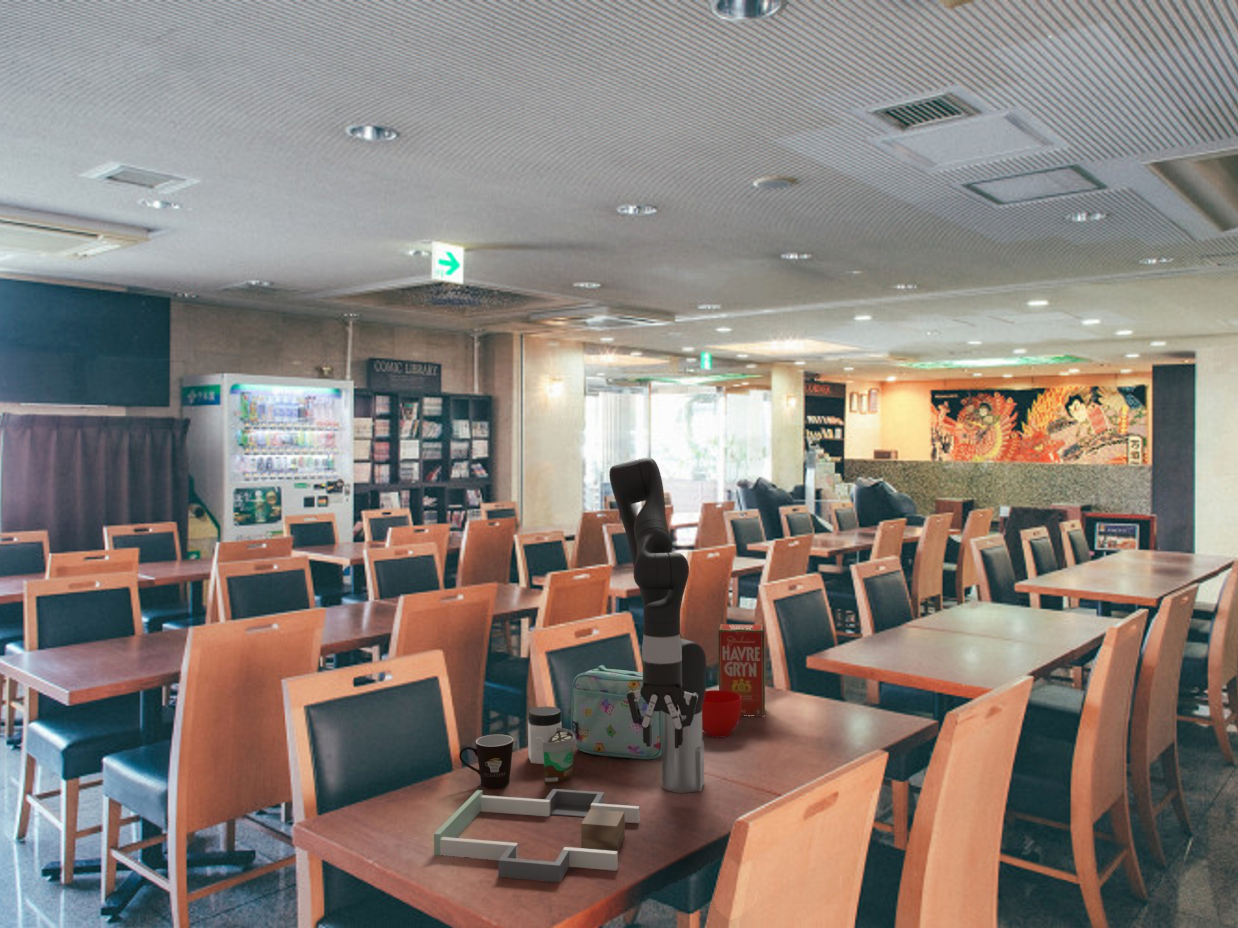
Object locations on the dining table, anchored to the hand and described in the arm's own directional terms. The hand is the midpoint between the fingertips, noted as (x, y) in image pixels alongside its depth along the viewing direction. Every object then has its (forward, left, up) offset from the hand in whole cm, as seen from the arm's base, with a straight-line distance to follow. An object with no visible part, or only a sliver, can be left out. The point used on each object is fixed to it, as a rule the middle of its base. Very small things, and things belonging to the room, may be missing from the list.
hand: (663, 745), depth 170 cm
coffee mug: (+45, -26, -20) cm, 56 cm away
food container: (+29, -32, -20) cm, 47 cm away
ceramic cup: (-1, -72, -20) cm, 75 cm away
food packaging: (-8, -93, -20) cm, 95 cm away
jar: (+37, -44, -20) cm, 61 cm away
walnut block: (+12, 0, -20) cm, 23 cm away
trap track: (+25, 0, -19) cm, 32 cm away
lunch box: (+20, -52, -20) cm, 59 cm away
